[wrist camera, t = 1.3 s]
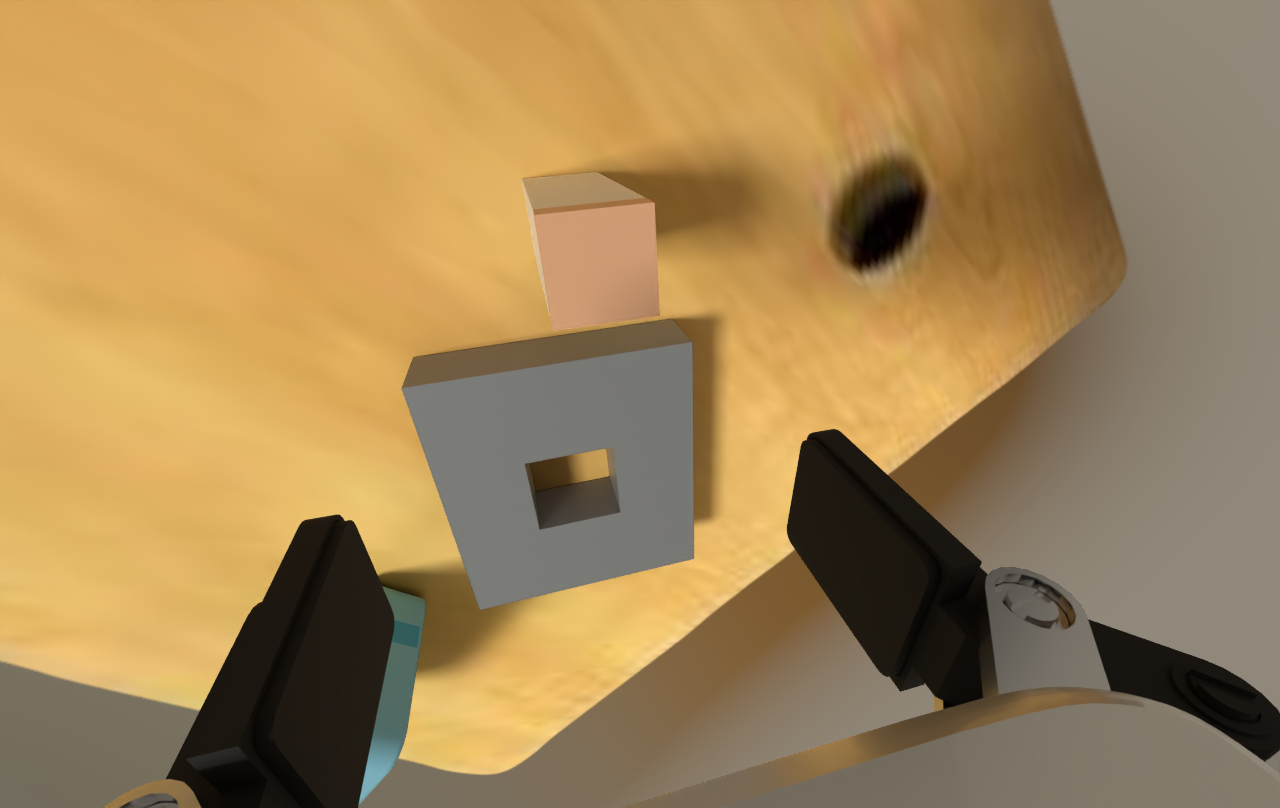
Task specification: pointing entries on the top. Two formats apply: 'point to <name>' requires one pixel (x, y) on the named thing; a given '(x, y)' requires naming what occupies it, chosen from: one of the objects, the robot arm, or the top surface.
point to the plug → (593, 249)
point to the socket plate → (561, 455)
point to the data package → (395, 688)
